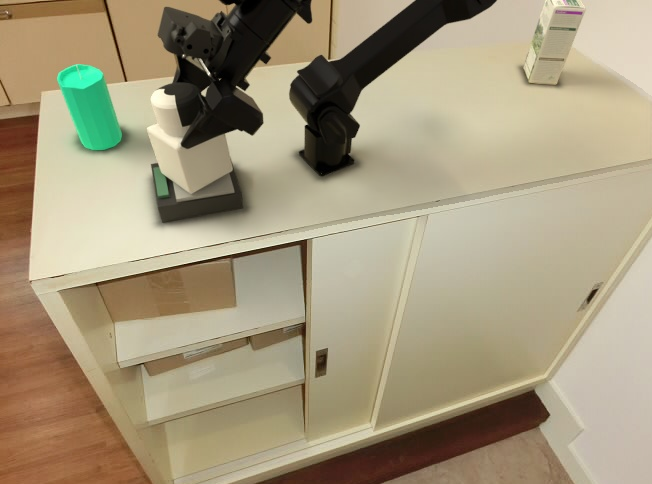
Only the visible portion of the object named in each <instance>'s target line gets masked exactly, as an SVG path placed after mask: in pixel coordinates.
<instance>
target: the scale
mask: <svg viewBox="0 0 652 484" xmlns="http://www.w3.org/2000/svg"><path fill="white" fill-rule="evenodd" d="M230 158H231V159H232V157H231V156H230ZM231 163H232V167H233V170H232V171H231V172H229V173H228V174H226V175H224V176H222V177H221V178H219V179H217V180H215V181H213V182H212V183H210V184H208V185H206V186H205V187H203V188H201V189H199V190H197V191H196V192H194V193H192V194H191V193H188V192H187V191H186V190H184V189H183V188H182V187H180V186H179V185H177V184H176V183H175V182H173V181H172V180H171V179H169V178H168V177H166V176H165V175H164V174H162V173H161V170H160V167H159V164H158V162H155V163H150V168H151V175H152V180H153V188H154V193H155V200H156V205H157V210H158V213H159V217H160V221H161V223H167V222H172V221H177V220H183V219H184V220H185V219H191V218H196V217H202V216H206V215H212V214H217V213H225V212H231V211H236V210H240V209H244V203H243V193H242V190H241V187H240V183H239V181H238V178H237V173H236V170H235V168H234V164H233V161H232V160H231Z"/></svg>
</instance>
